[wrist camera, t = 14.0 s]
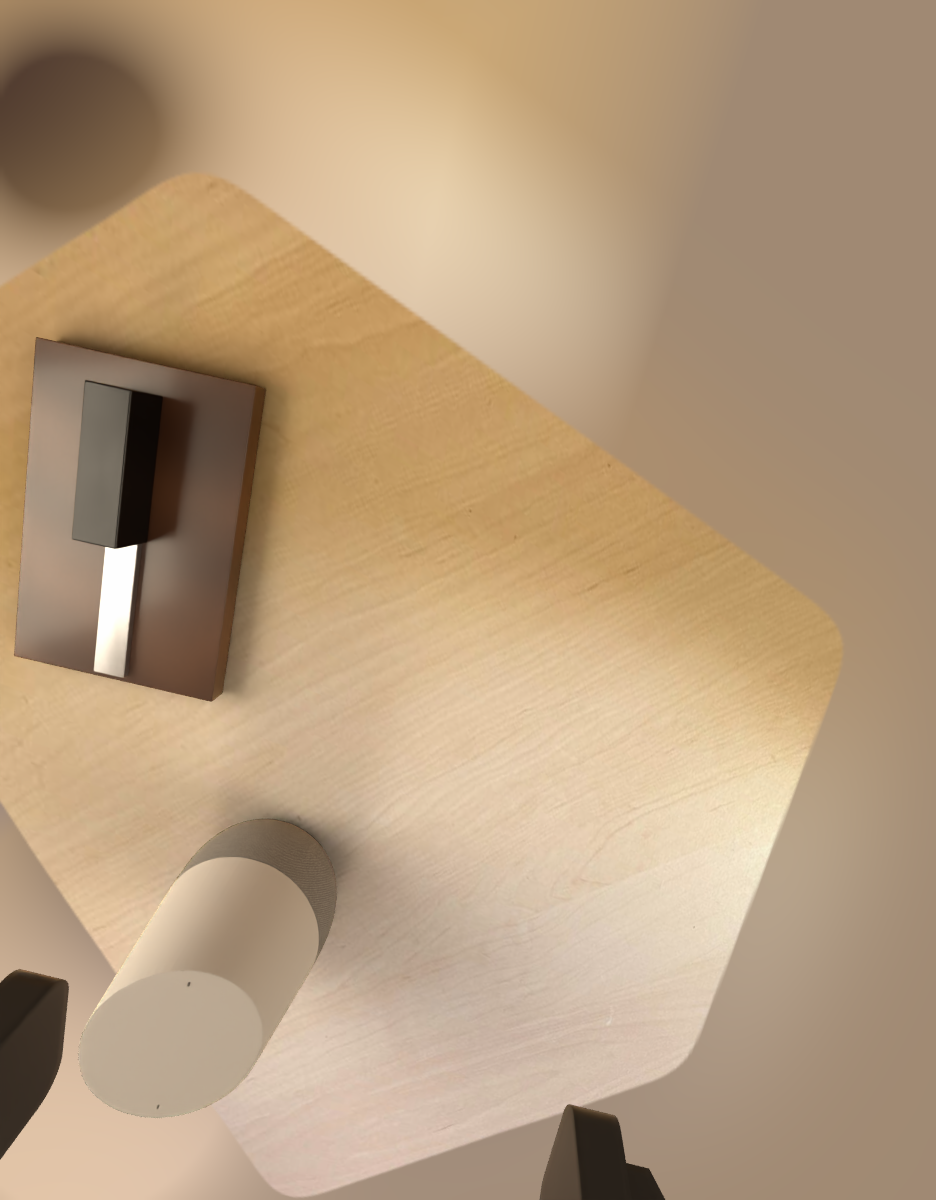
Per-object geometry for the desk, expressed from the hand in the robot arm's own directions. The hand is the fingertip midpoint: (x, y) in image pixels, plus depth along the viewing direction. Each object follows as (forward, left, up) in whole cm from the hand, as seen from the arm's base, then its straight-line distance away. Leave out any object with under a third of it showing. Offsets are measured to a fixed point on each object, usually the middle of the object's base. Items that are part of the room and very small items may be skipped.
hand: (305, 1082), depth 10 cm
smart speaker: (+18, -8, -28) cm, 34 cm away
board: (-2, -19, -28) cm, 34 cm away
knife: (-2, -19, -27) cm, 33 cm away
